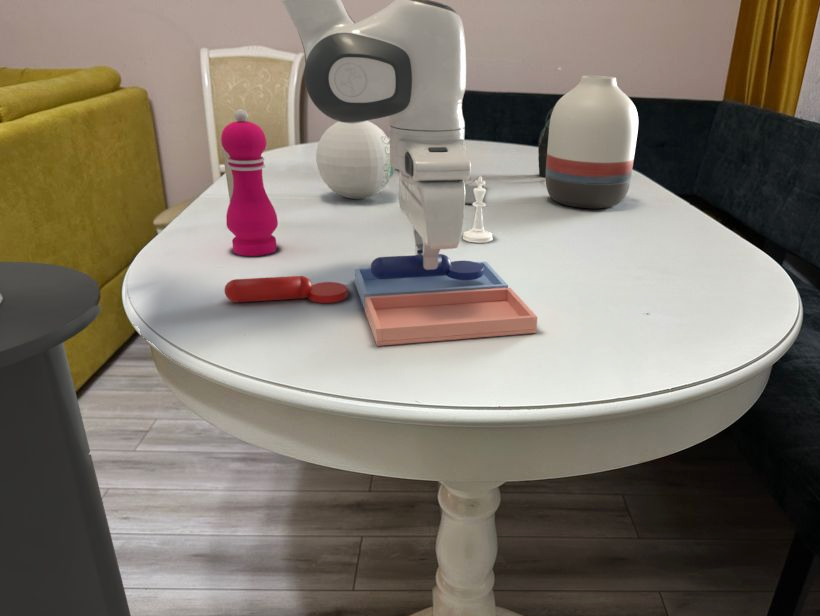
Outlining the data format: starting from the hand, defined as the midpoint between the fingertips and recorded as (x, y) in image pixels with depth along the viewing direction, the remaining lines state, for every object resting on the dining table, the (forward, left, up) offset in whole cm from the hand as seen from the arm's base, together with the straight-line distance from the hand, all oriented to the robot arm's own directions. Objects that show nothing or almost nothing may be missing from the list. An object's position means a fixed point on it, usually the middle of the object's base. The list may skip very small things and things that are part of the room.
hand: (426, 263), depth 86 cm
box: (-23, +37, -4) cm, 43 cm away
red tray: (0, -10, -4) cm, 11 cm away
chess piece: (+13, +23, -4) cm, 27 cm away
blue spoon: (+1, 0, -2) cm, 2 cm away
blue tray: (0, 0, -4) cm, 4 cm away
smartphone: (+19, +54, -4) cm, 57 cm away
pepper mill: (-22, +22, -4) cm, 31 cm away
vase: (+42, +45, -4) cm, 62 cm away
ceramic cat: (+51, +69, -4) cm, 86 cm away
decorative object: (-3, +54, -4) cm, 54 cm away
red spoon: (-17, +1, -4) cm, 17 cm away
